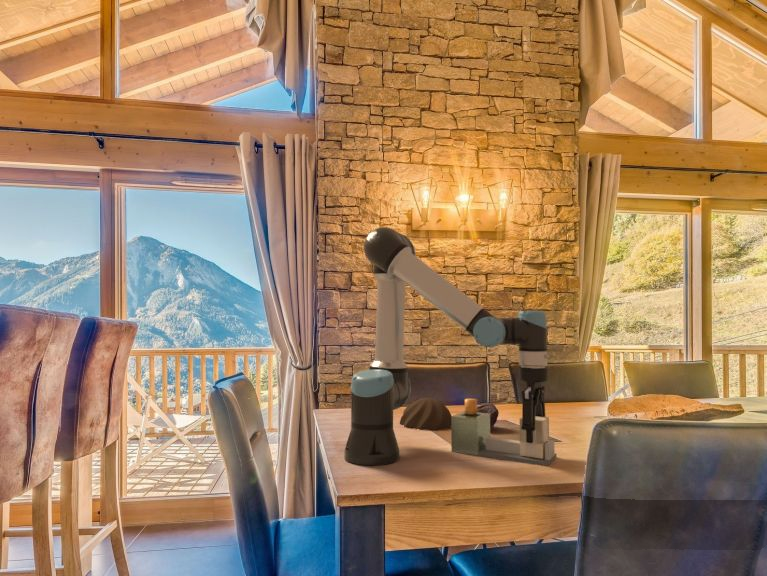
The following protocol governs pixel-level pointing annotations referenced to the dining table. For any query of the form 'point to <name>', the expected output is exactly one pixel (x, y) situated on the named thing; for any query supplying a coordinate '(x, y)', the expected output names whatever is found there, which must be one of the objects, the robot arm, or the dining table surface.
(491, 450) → the grey slide base
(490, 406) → the rock
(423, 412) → the decorative dome
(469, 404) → the orange rounded piece
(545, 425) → the block
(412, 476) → the dining table surface
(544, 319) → the robot arm
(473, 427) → the green square holder
